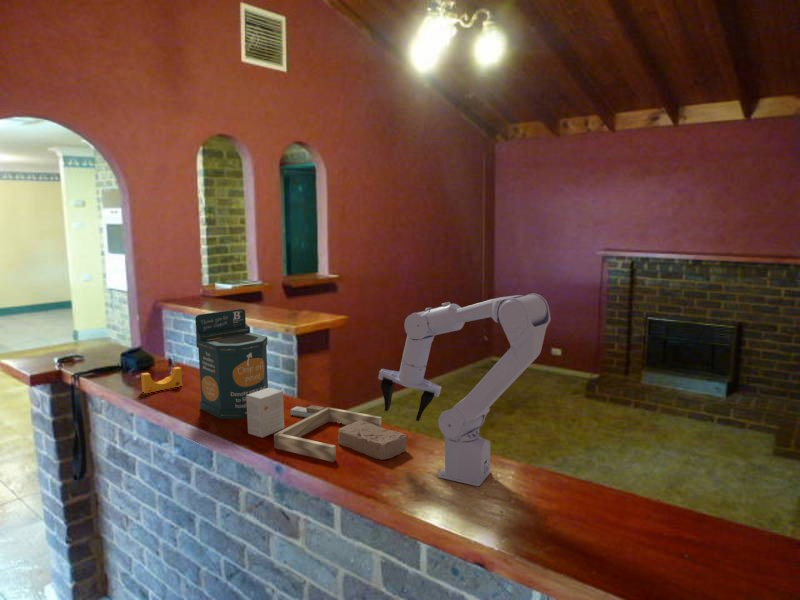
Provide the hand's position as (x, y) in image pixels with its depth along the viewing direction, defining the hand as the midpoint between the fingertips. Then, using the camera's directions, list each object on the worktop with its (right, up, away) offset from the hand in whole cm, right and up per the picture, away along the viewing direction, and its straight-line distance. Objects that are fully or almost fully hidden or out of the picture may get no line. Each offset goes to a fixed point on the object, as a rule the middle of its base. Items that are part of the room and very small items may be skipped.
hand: (402, 414), depth 134 cm
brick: (-8, -10, +6) cm, 14 cm away
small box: (-36, -8, +17) cm, 40 cm away
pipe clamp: (-79, -3, +54) cm, 95 cm away
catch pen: (-18, -9, +11) cm, 23 cm away
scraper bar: (-26, -6, +28) cm, 39 cm away
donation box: (-48, -6, +34) cm, 59 cm away
